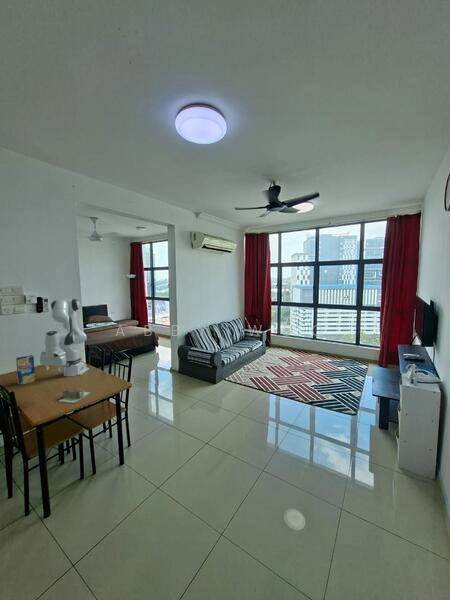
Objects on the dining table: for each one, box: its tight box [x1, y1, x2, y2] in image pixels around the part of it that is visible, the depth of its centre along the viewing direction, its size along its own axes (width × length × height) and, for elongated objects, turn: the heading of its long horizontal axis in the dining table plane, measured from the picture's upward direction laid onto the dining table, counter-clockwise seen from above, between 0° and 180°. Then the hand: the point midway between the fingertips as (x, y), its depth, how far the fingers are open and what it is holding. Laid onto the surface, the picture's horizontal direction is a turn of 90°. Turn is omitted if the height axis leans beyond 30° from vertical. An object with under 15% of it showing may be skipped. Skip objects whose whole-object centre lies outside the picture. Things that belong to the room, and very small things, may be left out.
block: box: [62, 387, 85, 399], centre depth 183 cm, size 5×5×14 cm
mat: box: [57, 391, 92, 404], centre depth 184 cm, size 16×14×1 cm
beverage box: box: [16, 354, 36, 386], centre depth 208 cm, size 7×11×22 cm, turn 136°
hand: (53, 370), depth 185 cm, fingers open, 8 cm apart
